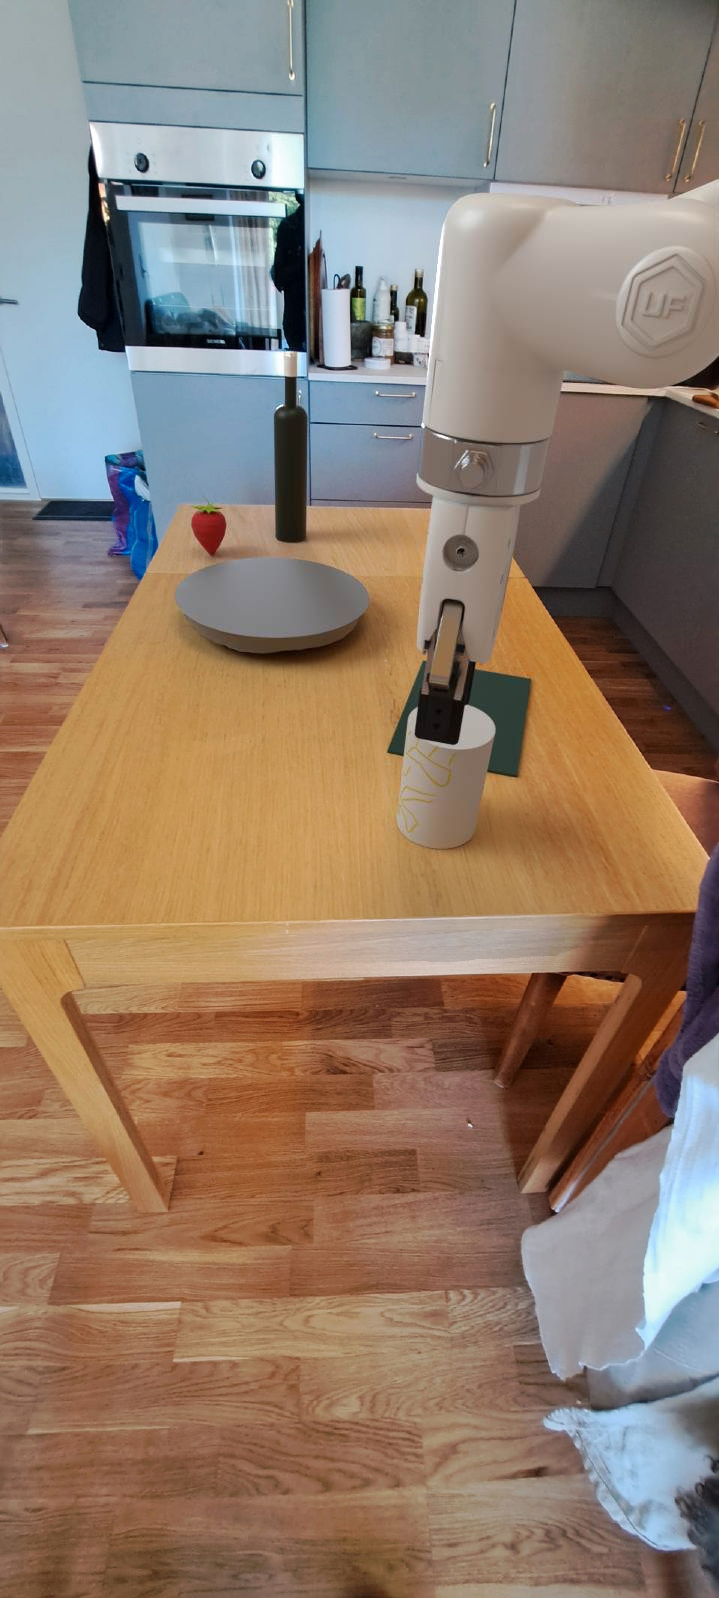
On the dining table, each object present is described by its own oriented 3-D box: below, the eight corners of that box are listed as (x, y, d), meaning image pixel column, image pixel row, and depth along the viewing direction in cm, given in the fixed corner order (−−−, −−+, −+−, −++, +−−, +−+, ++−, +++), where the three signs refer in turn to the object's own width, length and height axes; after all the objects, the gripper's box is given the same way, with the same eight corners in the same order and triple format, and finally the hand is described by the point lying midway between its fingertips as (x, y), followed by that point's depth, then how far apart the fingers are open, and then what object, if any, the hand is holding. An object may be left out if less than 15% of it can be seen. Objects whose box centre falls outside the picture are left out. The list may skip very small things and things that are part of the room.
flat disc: (172, 588, 117) (169, 560, 114) (343, 580, 123) (344, 554, 120) (184, 675, 96) (181, 644, 93) (389, 660, 102) (392, 630, 99)
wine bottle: (275, 531, 140) (273, 347, 121) (306, 532, 140) (308, 349, 121) (275, 542, 135) (272, 353, 116) (306, 543, 136) (308, 355, 117)
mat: (530, 680, 100) (531, 678, 100) (517, 777, 82) (517, 775, 82) (422, 662, 102) (423, 660, 102) (387, 752, 85) (387, 750, 85)
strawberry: (191, 562, 125) (185, 502, 119) (196, 546, 131) (191, 488, 125) (226, 563, 126) (222, 503, 120) (230, 547, 132) (226, 489, 125)
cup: (383, 807, 77) (392, 710, 69) (449, 790, 80) (466, 695, 72) (420, 857, 71) (435, 757, 64) (490, 837, 74) (512, 738, 67)
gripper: (535, 513, 37) (478, 797, 48) (551, 437, 50) (503, 675, 61) (389, 493, 38) (367, 775, 49) (442, 424, 51) (414, 660, 62)
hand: (442, 717), depth 55 cm, fingers open, 4 cm apart
